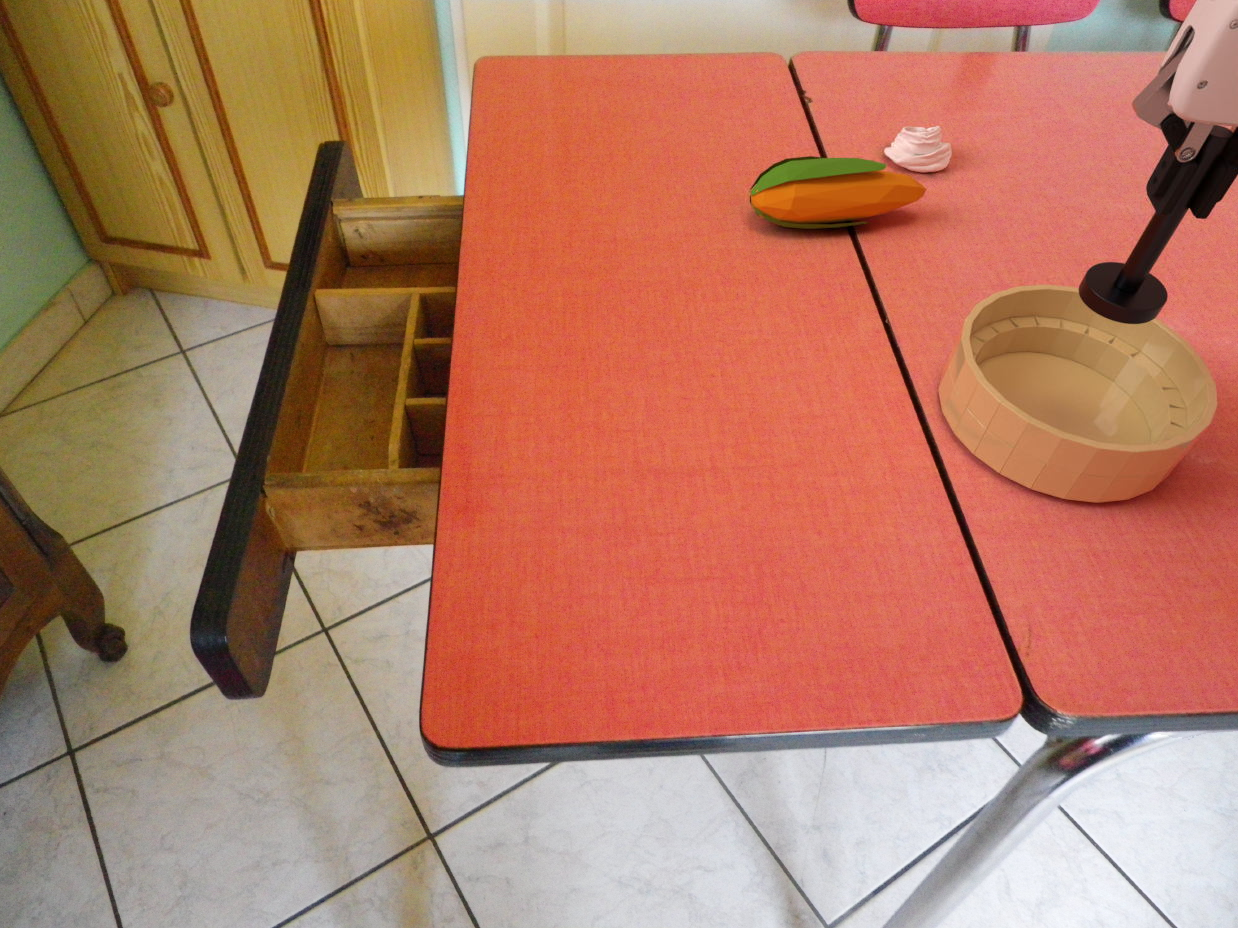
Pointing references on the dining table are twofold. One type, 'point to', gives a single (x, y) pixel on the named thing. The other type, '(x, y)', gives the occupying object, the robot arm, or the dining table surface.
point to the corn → (829, 191)
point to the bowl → (1074, 395)
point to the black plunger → (1148, 252)
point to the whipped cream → (920, 149)
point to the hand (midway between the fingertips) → (1175, 204)
